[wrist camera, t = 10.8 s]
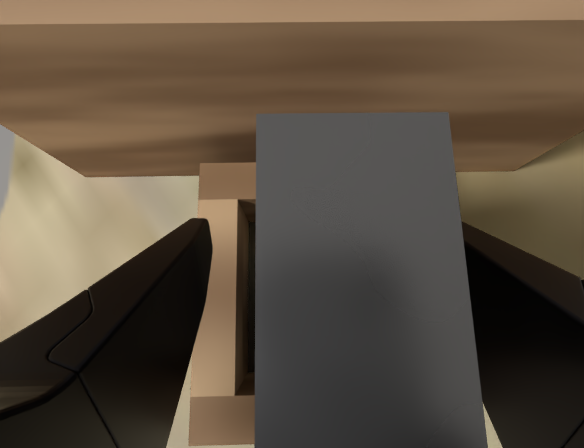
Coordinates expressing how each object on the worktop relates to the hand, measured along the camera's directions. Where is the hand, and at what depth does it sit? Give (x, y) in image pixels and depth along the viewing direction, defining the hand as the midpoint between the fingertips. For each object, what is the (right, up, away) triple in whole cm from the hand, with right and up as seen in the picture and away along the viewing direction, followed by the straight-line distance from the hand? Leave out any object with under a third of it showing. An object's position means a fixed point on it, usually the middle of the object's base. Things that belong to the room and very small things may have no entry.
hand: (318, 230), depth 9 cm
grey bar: (0, -3, +8) cm, 8 cm away
